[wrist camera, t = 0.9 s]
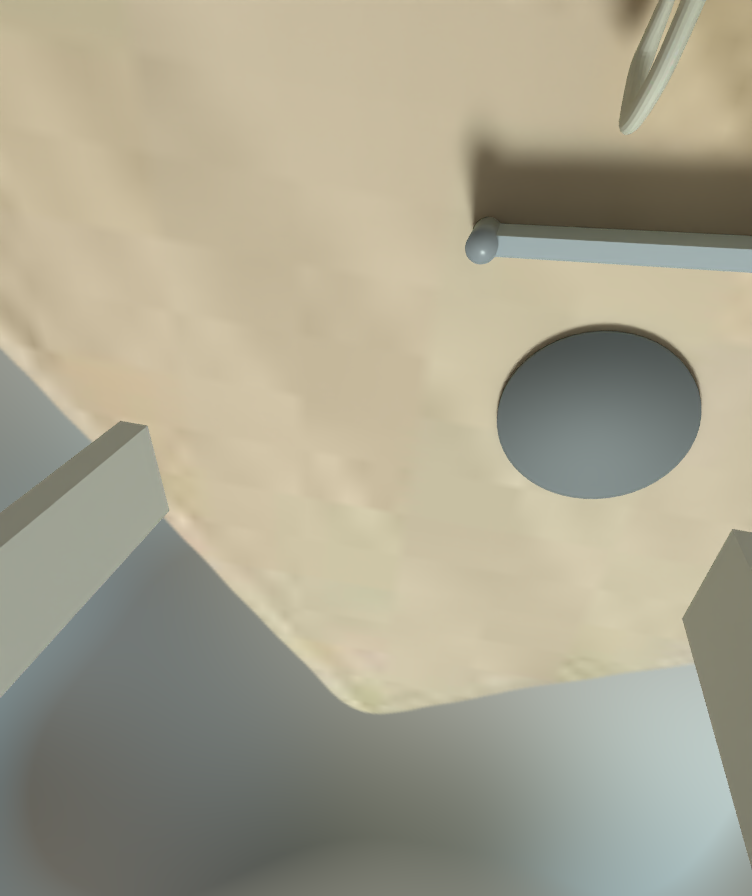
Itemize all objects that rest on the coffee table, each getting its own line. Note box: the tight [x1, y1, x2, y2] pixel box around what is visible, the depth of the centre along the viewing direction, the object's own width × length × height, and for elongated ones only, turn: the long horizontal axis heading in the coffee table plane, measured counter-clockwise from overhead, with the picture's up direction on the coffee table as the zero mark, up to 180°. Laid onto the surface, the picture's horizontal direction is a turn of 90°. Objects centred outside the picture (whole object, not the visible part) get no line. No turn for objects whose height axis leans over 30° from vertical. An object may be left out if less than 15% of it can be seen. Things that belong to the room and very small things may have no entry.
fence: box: [465, 217, 752, 273], centre depth 26 cm, size 2×18×4 cm, turn 90°
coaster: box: [497, 331, 701, 499], centre depth 33 cm, size 12×12×1 cm
